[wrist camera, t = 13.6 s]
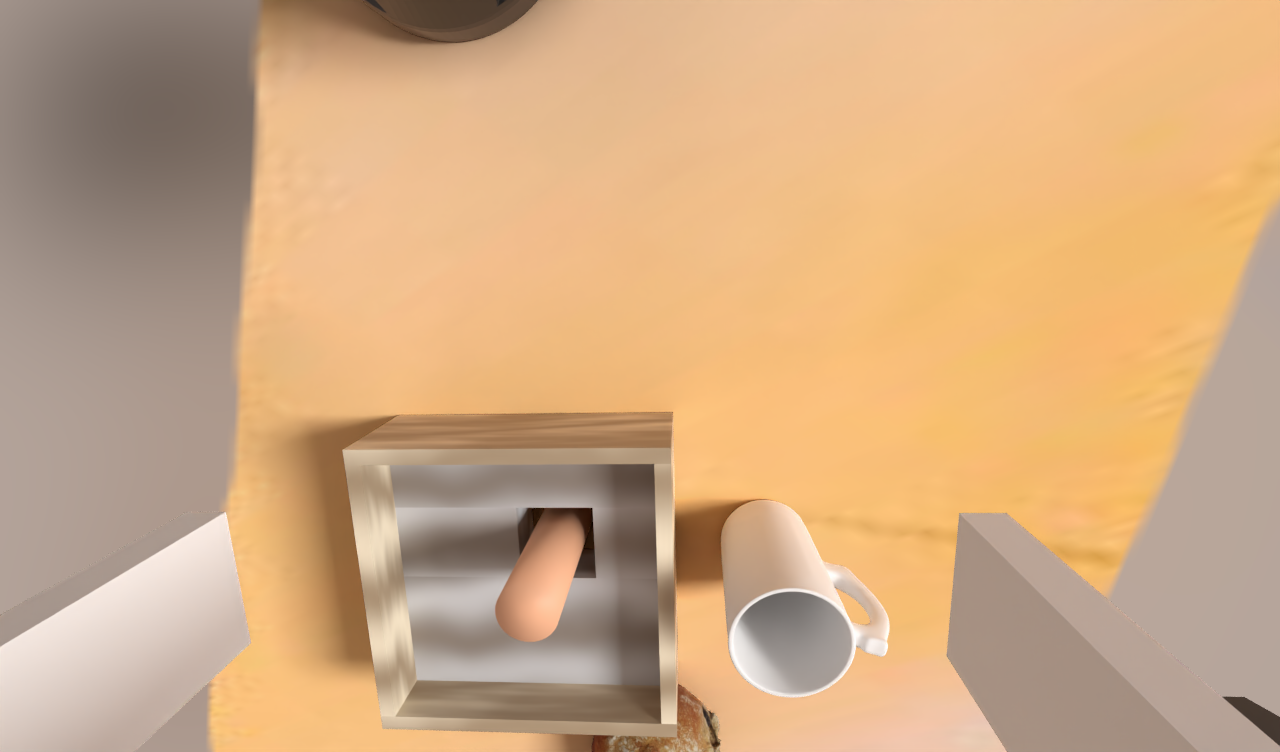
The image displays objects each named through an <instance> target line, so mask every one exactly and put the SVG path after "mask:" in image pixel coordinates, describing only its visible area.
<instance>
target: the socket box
mask: <svg viewBox="0 0 1280 752" xmlns="http://www.w3.org/2000/svg"><path fill="white" fill-rule="evenodd" d="M342 451H343V458H344V465H345V471H346V478H347V485H348V492H349V499H350V506H351V513H352V520H353V527H354V534H355V541H356V548H357V554H358V561H359V568H360V575H361V582H362V589H363V596H364V603H365V610H366V617H367V624H368V630H369V637H370V644H371V651H372V658H373V665H374V672H375V679H376V686H377V693H378V700H379V707H380V713H381V720H382V727H383V729H409V730H443V731H478V732H512V733H547V734H581V735H616V736H650V737H677V699H678V635H677V585H676V535H675V486H674V436H673V412H650V413H556V414H463V415H398V416H396V417H395V418H393V419H391V420H390V421H388V422H387V423H385V424H383V425H382V426H380V427H378V428H377V429H375V430H374V431H372V432H370V433H369V434H367V435H366V436H364V437H362V438H361V439H359V440H358V441H356V442H354V443H353V444H351V445H349V446H348V447H346V448H345V449H343V450H342ZM532 508H593V528H594V547H595V549H583V550H582V553H581V556H580V559H579V562H578V565H577V568H576V571H575V574H574V577H573V580H572V583H571V586H570V589H569V592H568V595H567V598H566V601H565V604H564V607H563V610H562V613H561V616H560V619H559V622H558V625H557V627H556V629H555V630H554V632H553V633H552V634H551V635H549V636H548V637H547V638H545V639H543V640H540V641H536V642H524V641H520V640H517V639H515V638H513V637H511V636H509V635H508V634H507V633H505V632H504V631H503V629H502V628H501V627H500V625H499V624H498V622H497V619H496V615H495V605H496V602H497V599H498V597H499V595H500V593H501V592H502V590H503V588H504V586H505V584H506V582H507V580H508V578H509V576H510V574H511V572H512V571H513V569H514V567H515V565H516V563H517V561H518V559H519V557H520V555H521V553H522V551H523V550H524V548H525V546H526V544H527V542H528V540H529V538H530V536H531V534H532V532H533V530H534V526H533V513H532Z"/></svg>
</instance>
